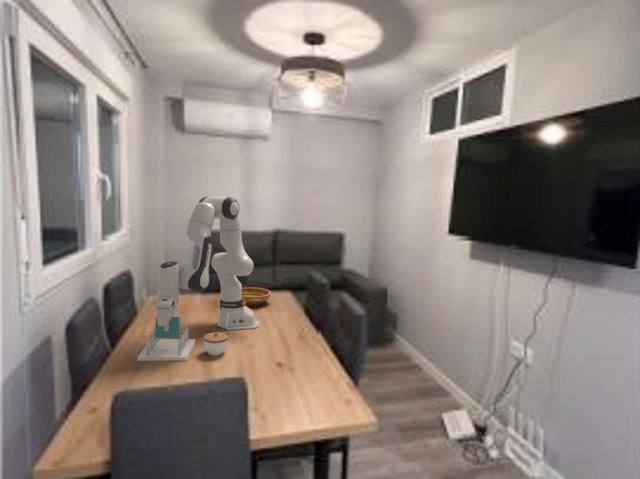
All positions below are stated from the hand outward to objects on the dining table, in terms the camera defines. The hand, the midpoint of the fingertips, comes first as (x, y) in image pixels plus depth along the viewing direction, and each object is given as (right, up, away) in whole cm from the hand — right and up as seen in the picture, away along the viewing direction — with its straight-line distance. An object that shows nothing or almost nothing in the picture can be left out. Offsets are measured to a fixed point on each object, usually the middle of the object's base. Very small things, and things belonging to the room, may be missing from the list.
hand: (168, 329), depth 172 cm
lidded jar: (+21, -11, +2) cm, 24 cm away
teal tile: (0, -4, 0) cm, 4 cm away
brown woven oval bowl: (+23, -2, +81) cm, 84 cm away
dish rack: (0, -10, +1) cm, 10 cm away
